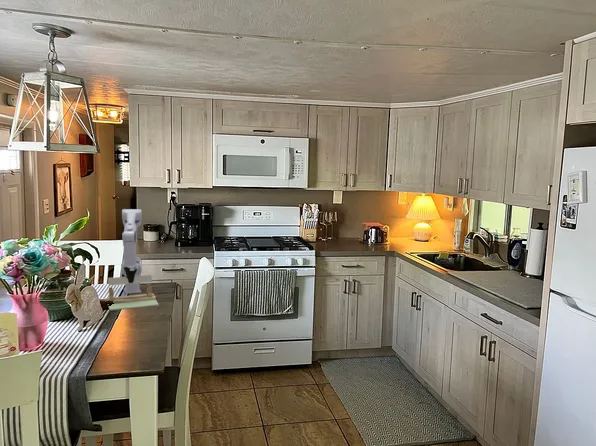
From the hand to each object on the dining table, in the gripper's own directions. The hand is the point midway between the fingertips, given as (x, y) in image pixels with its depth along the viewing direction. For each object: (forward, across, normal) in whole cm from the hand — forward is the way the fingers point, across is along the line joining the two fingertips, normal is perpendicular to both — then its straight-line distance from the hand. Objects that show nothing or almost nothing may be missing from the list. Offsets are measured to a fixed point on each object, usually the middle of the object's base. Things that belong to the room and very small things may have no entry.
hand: (130, 281), depth 237 cm
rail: (0, 0, 0) cm, 0 cm away
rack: (+9, 0, 0) cm, 9 cm away
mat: (+9, +10, 0) cm, 14 cm away
